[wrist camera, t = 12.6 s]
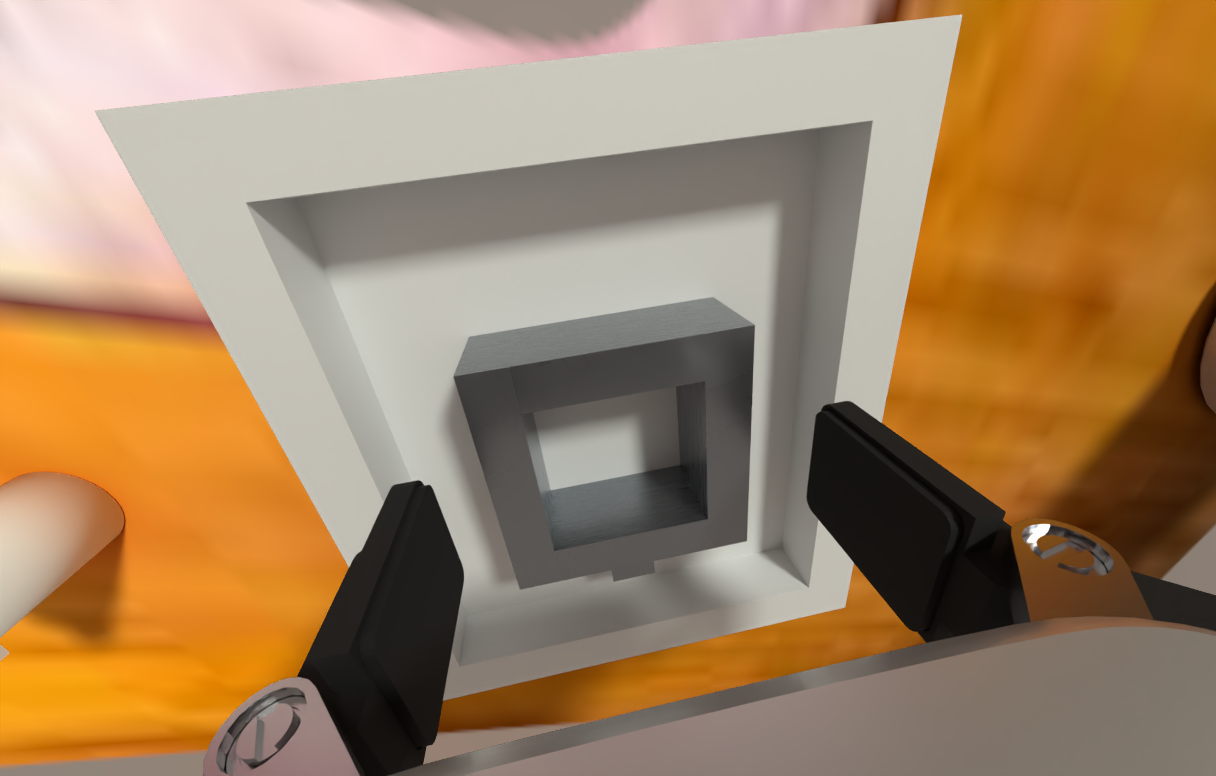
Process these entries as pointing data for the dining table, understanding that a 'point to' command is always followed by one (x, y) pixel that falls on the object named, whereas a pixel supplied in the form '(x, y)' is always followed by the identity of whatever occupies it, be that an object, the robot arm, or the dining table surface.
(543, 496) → the grey square frame
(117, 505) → the white rounded knob
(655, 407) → the tray
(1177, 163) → the dining table surface
